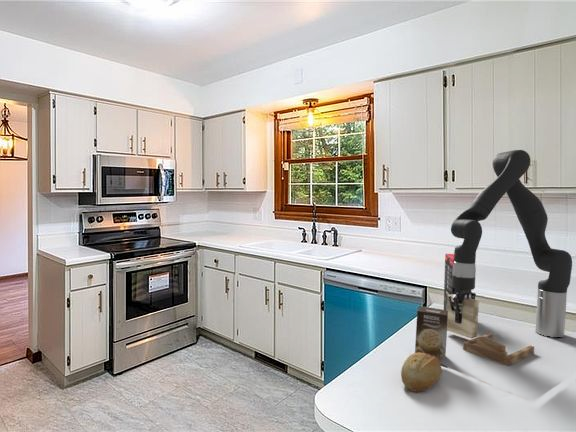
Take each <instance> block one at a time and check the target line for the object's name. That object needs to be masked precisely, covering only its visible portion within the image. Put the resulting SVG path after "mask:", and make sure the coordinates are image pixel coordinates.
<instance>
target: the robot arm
mask: <svg viewBox="0 0 576 432" xmlns="http://www.w3.org/2000/svg"><path fill="white" fill-rule="evenodd" d="M530 166H531V157H530V155H529V153H528V152H527V151H525V150H523V149H513V150H509V151H504V152H499V153H497V154H495V155H494V157H493V158H492V168H493V171H494V174H495V175H496V177H497V178H496V179H494V180H493V181H492V182H491V183H490V184H488V185H487V186H486V187H484V188H483V189H482V190H481V191H480V192H479V193H478V194H477V196H475V198H474V199H473V201H472V202H471V204H470V205H469V207H468V208H466V209H465V210H463V212H461V213H460V214H459V215H458V216H457V217H456V218H455V219H454V220H453V222H452V223H451V228H450V231H451V234H452V236H454V237H455V238H458V239H463V242H462V244H460V245H456V246H455V247H454V251H453V254H454V264H453V273H452V286H453V287H454V288H455V292H454V295H453V296H449V301H450V306H451V311H454V312H455V322H456V323H459V324H460V323H462V310H463V307H464V300H465V299H467V298H468V299H469V298H471V299H475V300H476V296H477V295H476V293H475V292H472V290H474V289H475V288H476V275H477V274H476V271H477V270H476V268H477V267H476V258H477V250H478V248H479V244H480V243H481V239H482V236H483V228H482V225H481V223H480V221H485V220H486V219H487V218H488V217H489V215H490V214H491V213H492V211H493V210H494V208H495V207H496V206H497V204H498V203H499V201H500V200H501V199H502V198H503V196H505V194H506V195H507V197H508V199H509V200H510V201H509V202H510V204H511V205H512V208H513V210H514V212H515V215H516V218H517V220H518V222H519V224H520V226H521V227H522V231H523V232H524V235H525V238H526V240H527V243H528V245H529V249H530V252H531V255H532V259H533V262H534V264H535V266H536V267H537V268H538V269H539V270H541V271H543V272H547V273H548V276H547V277H548V278H547V279H545V280H544V279H543V280H540V281H538V283H537V294H536V295H537V299H536V314H535V315H536V317H535V332H536V334H537V335H540V334H541V336H543V335H544V337H547V336H550V337H549V338H553V337H563V336H564V337H565V329H566V312H567V295H568V294H567V293H568V288H569V286H570V285H571V284H570V283H571V277H572V271H573V259H572V255H571V254H570V252H568V251H567V250H562V249H559V248H557V249H556V248H552V247H550V244H549V242H548V240H547V237H546V231H547V230H546V229H547V225H548V221H549V220H548V219H549V218H548V214H547V212H546V210H545V207H544V205H543V203H542V201H541V199H540V198H539V197H538V196H537V195H536V194H535V193H533V192H532V191H531V190H530V189H528V188H527V187H526V186H525V185H524V184H523V182H522V181H521V180H520V179H521V178H522V177H523V175H525V174H526V173H527V172H528V170H529V168H530ZM458 303H462V304H458ZM454 306H455V307H454ZM459 306H460V309H459ZM564 337H563V338H564Z"/></svg>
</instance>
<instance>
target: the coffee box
mask: <svg viewBox="0 0 576 432" xmlns="http://www.w3.org/2000/svg"><path fill="white" fill-rule="evenodd" d="M416 312H417V313H416V326H415V328H416V329H415V347H414V353H417V352H421V353H427V354H429V355H431V356H433V355H434V356H435V357H437V358H438V360H439V362H440V364H441V367H445V364H446V354H447V353H446V351H447V340H448V339H447V337H448V336H447V335H448V331H447V322H448V310H444V309H442V308H434V307H430V306H429V307H428V306H424V305H423V306H422V305H418V307H417V311H416Z"/></svg>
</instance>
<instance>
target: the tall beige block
mask: <svg viewBox="0 0 576 432" xmlns="http://www.w3.org/2000/svg"><path fill="white" fill-rule="evenodd" d="M453 295H454V294H451V295H447V308H446V310H448V322H447V332H451V333H454V334H456V335H460V336H463V337H465V338H469V339H470V340H472V339H475V338H477V337H478V327H479V325H478V324H479V323H478V322H479V303H480V300H478V299H476V298H475V299H471V298H469V299H468V298H467V299H465V300H464V307H463V310H462V323H460V324H459V323H456V322H455V312H454V311H451V306H450V301H449V296H453ZM458 304H462V303H458ZM454 307H455V306H454ZM459 309H460V306H459Z"/></svg>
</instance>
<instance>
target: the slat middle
mask: <svg viewBox="0 0 576 432" xmlns="http://www.w3.org/2000/svg"><path fill="white" fill-rule="evenodd" d="M474 345H477V346H479V347H482V348H485V349H488V348H486V347H484V346H481V345H479V344H477V343H475V344H474ZM488 350H490V349H488ZM491 351H492V350H491ZM499 353H500V354H503V355H506V356H507V355H508V351H506V350H505V352H499Z"/></svg>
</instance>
